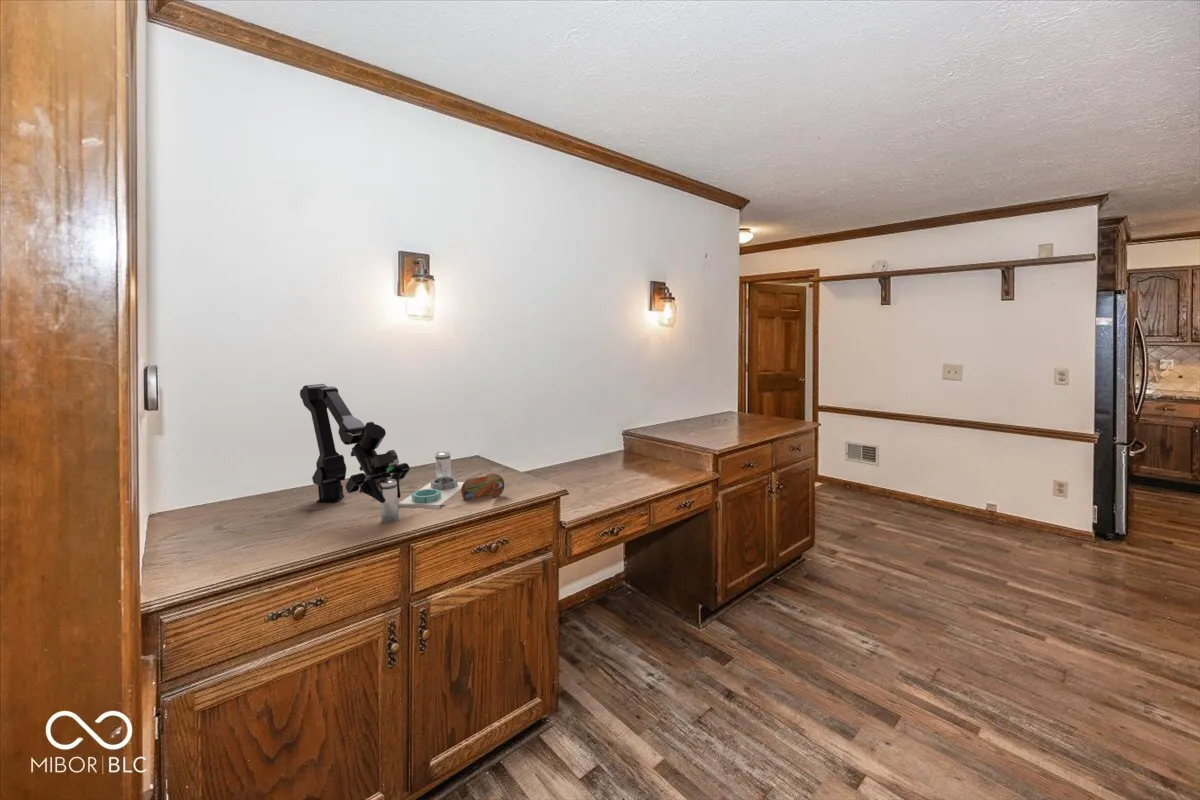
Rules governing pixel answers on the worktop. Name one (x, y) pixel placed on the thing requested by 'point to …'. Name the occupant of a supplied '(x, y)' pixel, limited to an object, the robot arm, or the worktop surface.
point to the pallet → (432, 504)
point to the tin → (482, 486)
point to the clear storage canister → (389, 501)
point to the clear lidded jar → (443, 467)
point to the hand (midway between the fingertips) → (391, 499)
